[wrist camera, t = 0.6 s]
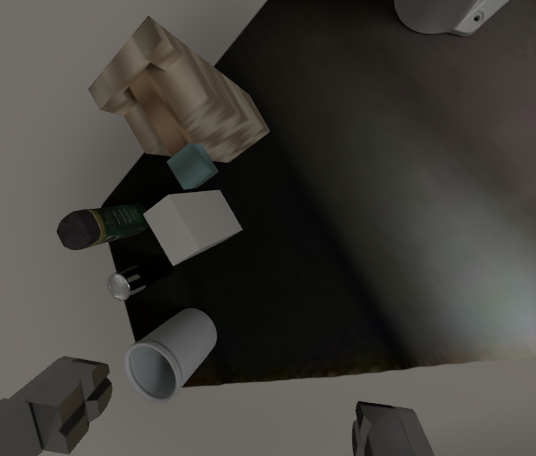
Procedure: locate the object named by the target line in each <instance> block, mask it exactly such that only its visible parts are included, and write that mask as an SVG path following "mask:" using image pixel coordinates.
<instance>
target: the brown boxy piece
mask: <svg viewBox="0 0 536 456" xmlns="http://www.w3.org/2000/svg"><path fill="white" fill-rule="evenodd" d="M146 66H148V68H149V70H150V71H151V73H152V75H153V76H154V78H155V80H156V81H157V83H158V85H159V86H160V88H161V90H162V91H163V93H164V95H165V96H166V98H167V100H168V101H169V103H170V105H171V106H172V108H173V110H174V111H175V113H176V115H177V116H178V118H179V120H180V121H181V123H182V125H183V126H184V128H185V130H186V131H187V133H188V135H189V136H190V138H191V140H192V141H193V143H194V144H199V145H203V147H204V149H205V150H206V152H207V154H208V155H209V157H210V159H211V160H212V161H218V162H227V163H228V162H230V161H231V160H232V159H234V158H235V157H236V156H238V155H239V154H241V153H242V152H243V151H245V150H246V149H247V148H249V147H250V146H251V145H253V144H254V143H255V142H257V141H258V140H259V139H261V138H262V137H263V136H265V135H266V134H267V133H269V132H270V130H269V129H268V127H267V125H266V123H265V122H264V120H263V118H262V116H261V115H260V113H259V111H258V109H257V108H256V106H255V104H254V102H253V101H252V99H251V97H250V96H249V94H247V93H246V92H245V91H243V90H242V89H241V88H240V87H238V86H237V85H236V84H235V83H233V82H232V81H231V80H229V79H228V78H227V77H226V76H224V75H223V74H222V73H221V72H219V71H218V70H217V69H215V68H214V67H213V66H212V65H210V64H209V63H208V62H206V61H205V60H204V59H203V58H201V57H200V56H199V55H198V54H196V53H195V52H194V51H193V50H191V49H190V48H189V47H187V46H186V45H185V44H183V43H182V42H181V41H179V39H177V38H176V37H175V36H173V35H172V34H171V33H169V32H168V31H167V30H166V29H164V28H163V27H162V26H160V25H159V24H158V23H157V22H156V21H154V20H153V19H152V18H150V17H149V16H148V17H147V18H146V19H145V20H144V22H143V23H142V24H141V25H140V27H139V28H138V29H137V30H136V31H135V33H134V34H133V35H132V36H131V37H130V39H129V40H128V41H127V42H126V44H125V45H124V46H123V47H122V49H121V50H120V51H119V52H118V53H117V55H116V56H115V57H114V58H113V60H112V61H111V62H110V63H109V64H108V66H107V67H106V68H105V69H104V71H103V72H102V73H101V74H100V75H99V77H98V78H97V79H96V80H95V81H94V83H93V84H92V85H91V86H90V88H89V91H90V93H91V95H92V96H93V98H94V100H95V102H96V103H97V105H98V107H99V108H100V110H103V111H107V112H111V113H115V114H118V115H123V116H124V117H125V119H126V120H127V122H128V124H129V125H130V127H131V129H132V130H133V132H134V134H135V136H136V138H137V139H138V141H139V143H140V144H141V146H142V148H143V150H144V151H145V153H147V154H156V155H165V156H171V155H170V153H169V152H168V150H167V148H166V147H165V145H164V143H163V142H162V140H161V138H160V137H159V135H158V133H157V132H156V130H155V129H154V127H153V125H152V124H151V122H150V120H149V119H148V117H147V115H146V114H145V112H144V110H143V109H142V107H141V105H140V104H139V102H138V101H137V99H136V97H135V96H134V94H133V92H132V91H131V89H130V87H129V85H130V84H131V83H132V82H133V81H134V80H135V79H136V77H137V76H138V75H139V74H140V73H141V72H142V71H143V70H144V69H145V67H146Z"/></svg>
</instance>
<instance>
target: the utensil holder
mask: <svg viewBox="0 0 536 456" xmlns="http://www.w3.org/2000/svg"><path fill="white" fill-rule="evenodd" d="M216 340H217V332H216V328H215V326H214V324H213V322H212V320H211V319H210V318H209V317H208V316H207V315H206V314H205V313H204V312H202V311H200V310H198V309H194V308H188V309H185V310H183V311H181V312H179V313H178V314H177V315H175V316H174V317H172V318H171V319H169V320H168V321H166V322H165V323H164V324H162V325H161V326H159V327H158V328H157V329H155V330H154V331H153V332H151V333H150V334H148V335H147V336H146V337H144V338H143V339H142V340H140V341H138V342H136V343H134V344H133V345H132V346H130V347H129V348H128V349H127V351H126V353H125V356H124V370H125V374H126V376H127V378H128V380H129V382H130V384H131V386H132V387H133V388H134V390H135V391H136V392H137V393H138V394H139V395H140V396H141V397H143V398H144V399H146V400H148V401H150V402H153V403H156V404H165V403H167V402H170V401H171V400H172V399H173V398H174V397H175V396H176V395H177V394H178V392H179V390H180V388H181V387H182V386H183V385H184V383H185V382H186V381H187V380H188V379H189V377H190V376H191V375H192V374H193V372H194V371H195V370H196V369H197V367H198V366H199V365H200V364H201V363H202V361H203V360H204V359H205V358H206V356H207V355H208V354H209V352H210V351H211V350H212V348H213V347H214V346H215V343H216Z"/></svg>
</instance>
